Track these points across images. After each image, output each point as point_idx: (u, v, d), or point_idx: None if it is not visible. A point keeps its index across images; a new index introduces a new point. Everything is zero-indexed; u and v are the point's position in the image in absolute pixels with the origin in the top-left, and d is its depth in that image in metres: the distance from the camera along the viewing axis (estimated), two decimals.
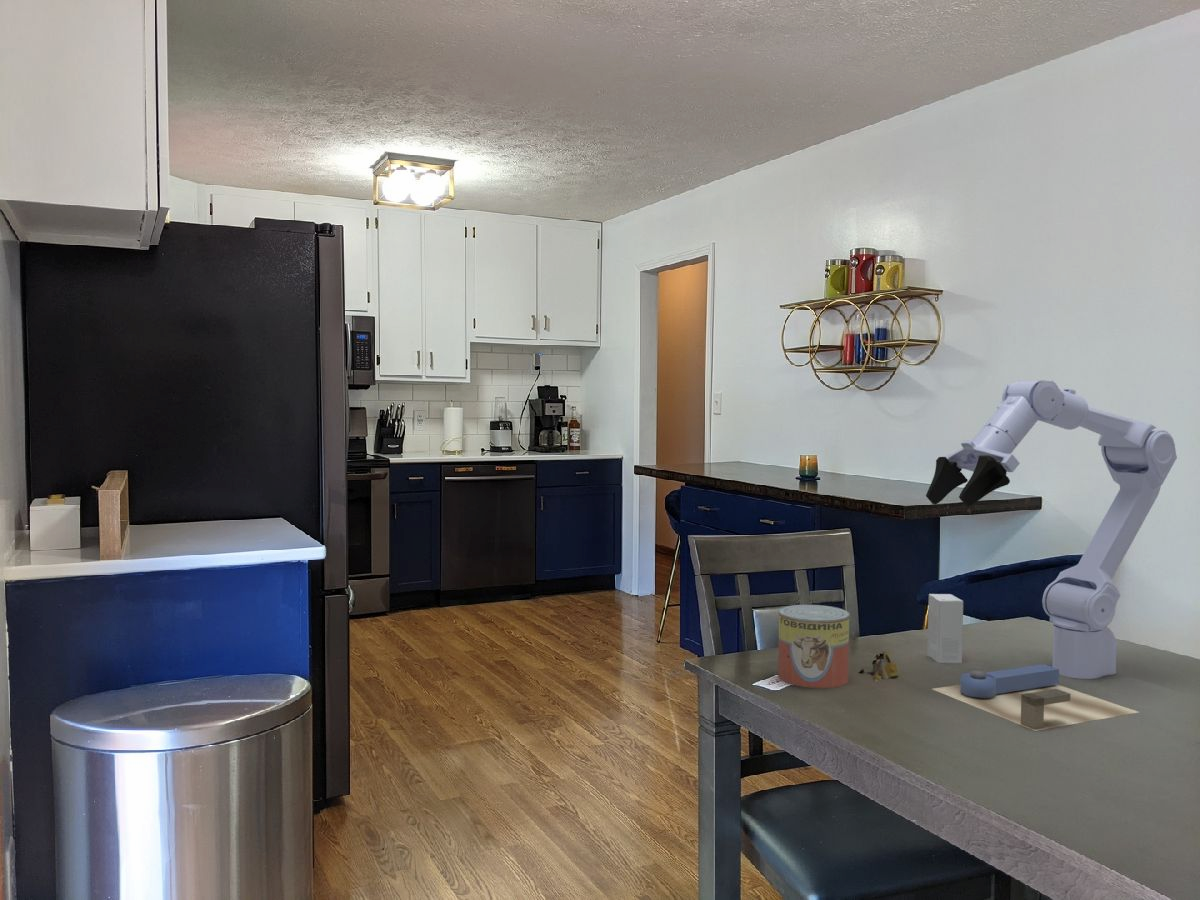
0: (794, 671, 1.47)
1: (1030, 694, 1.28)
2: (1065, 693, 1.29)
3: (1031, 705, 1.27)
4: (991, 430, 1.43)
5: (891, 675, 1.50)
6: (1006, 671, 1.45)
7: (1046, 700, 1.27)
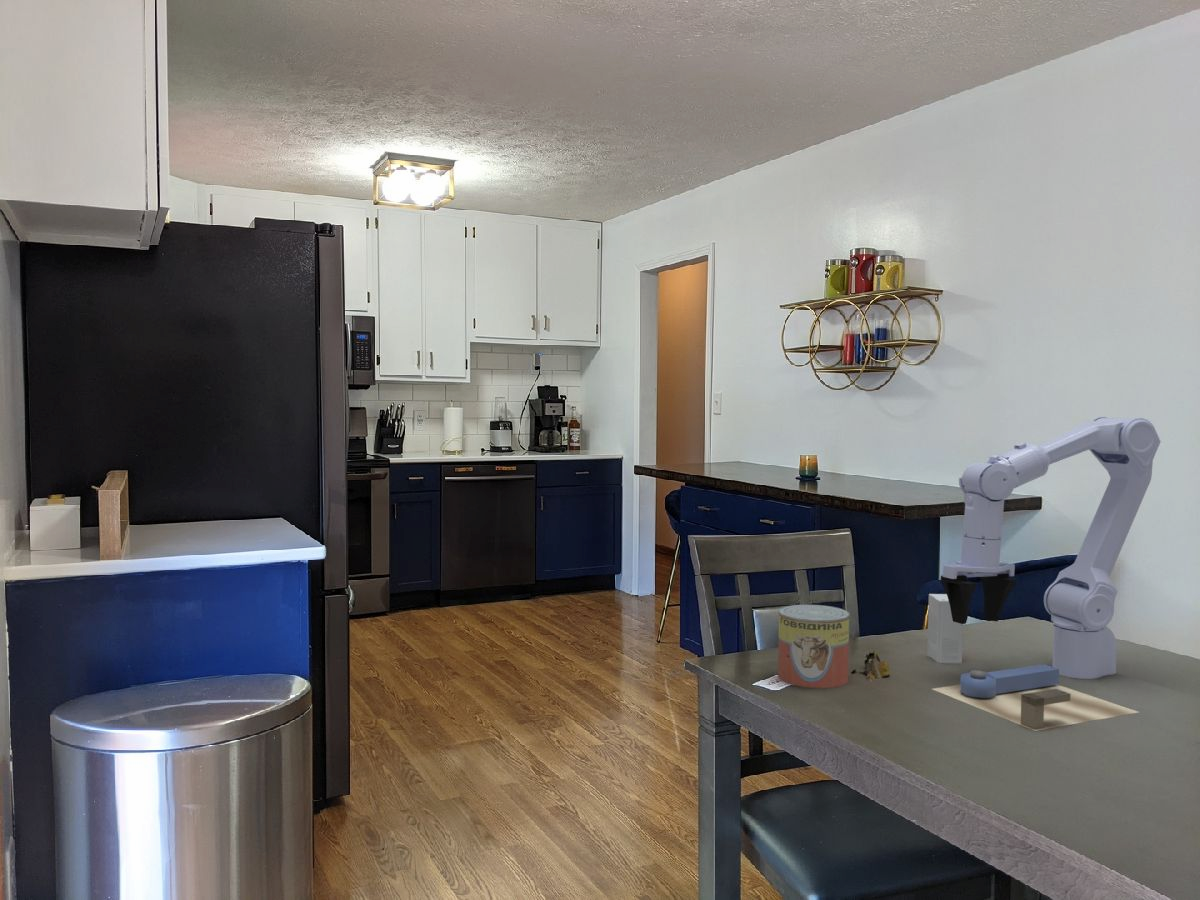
0: (794, 671, 1.47)
1: (1030, 694, 1.28)
2: (1065, 693, 1.29)
3: (1031, 705, 1.27)
4: None
5: (884, 674, 1.51)
6: (1006, 671, 1.45)
7: (1046, 700, 1.27)
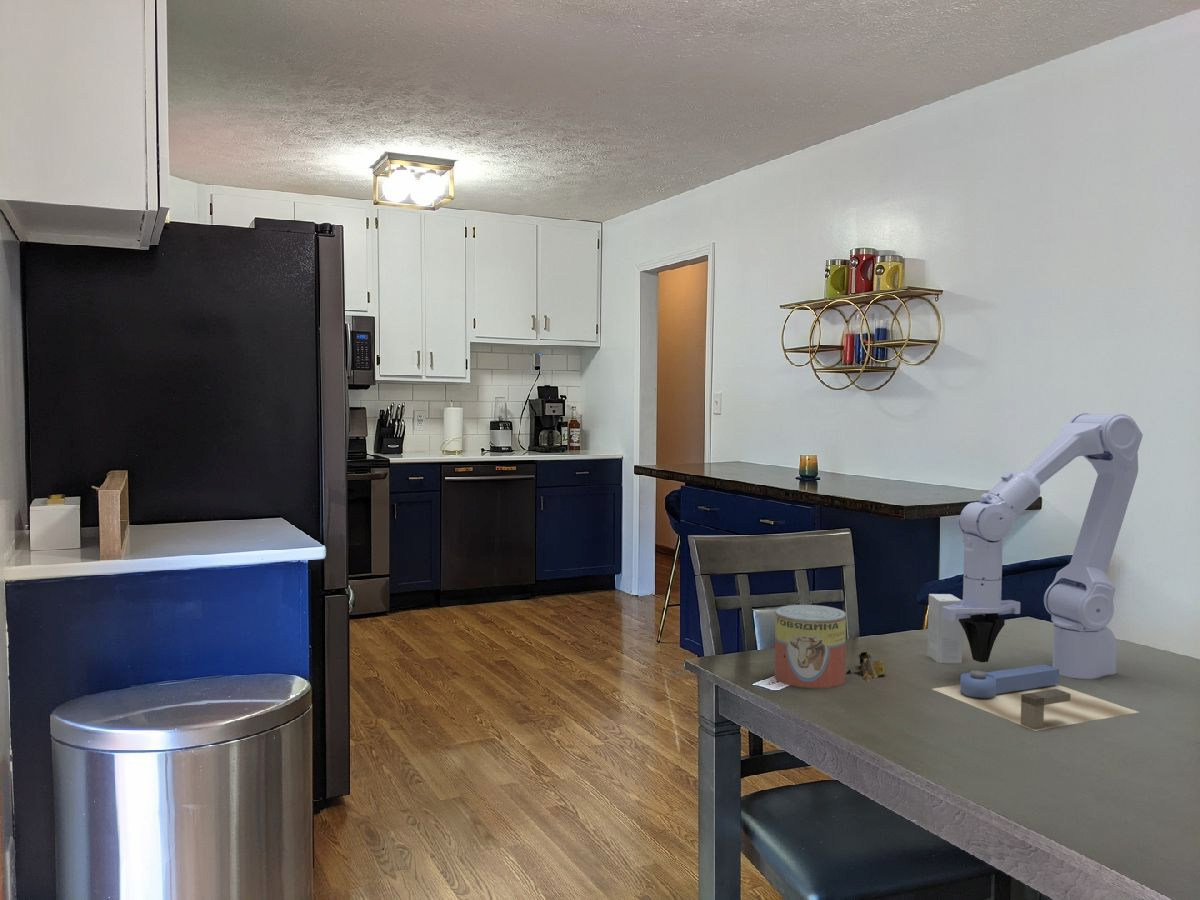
0: (790, 671, 1.47)
1: (1030, 694, 1.28)
2: (1065, 693, 1.29)
3: (1031, 705, 1.27)
4: None
5: (879, 673, 1.51)
6: (1006, 671, 1.45)
7: (1046, 700, 1.27)
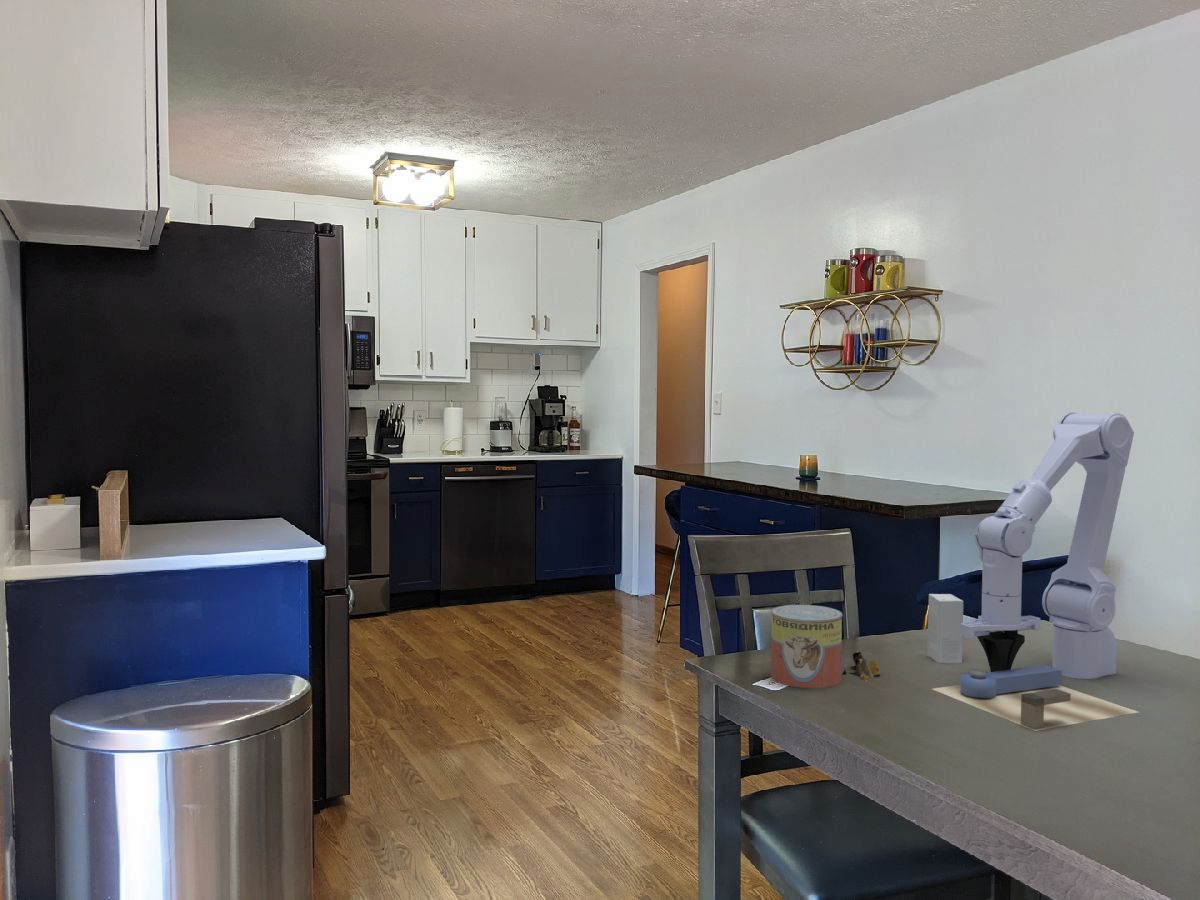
0: (786, 671, 1.47)
1: (1030, 694, 1.28)
2: (1065, 693, 1.29)
3: (1031, 705, 1.27)
4: None
5: (875, 674, 1.51)
6: (1007, 671, 1.44)
7: (1046, 700, 1.27)
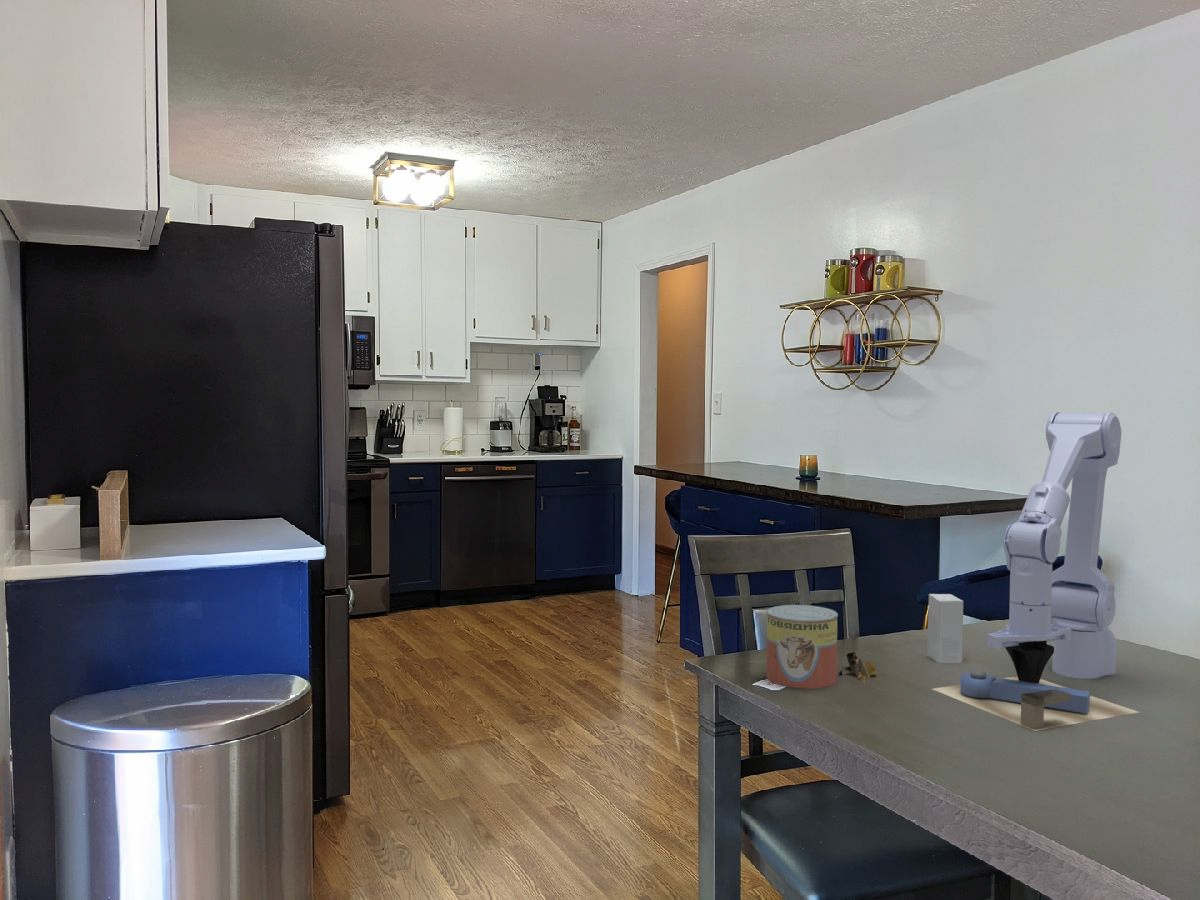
0: (780, 671, 1.47)
1: (1030, 694, 1.28)
2: (1065, 693, 1.29)
3: (1031, 705, 1.27)
4: None
5: (872, 674, 1.51)
6: (1024, 683, 1.39)
7: (1046, 700, 1.27)
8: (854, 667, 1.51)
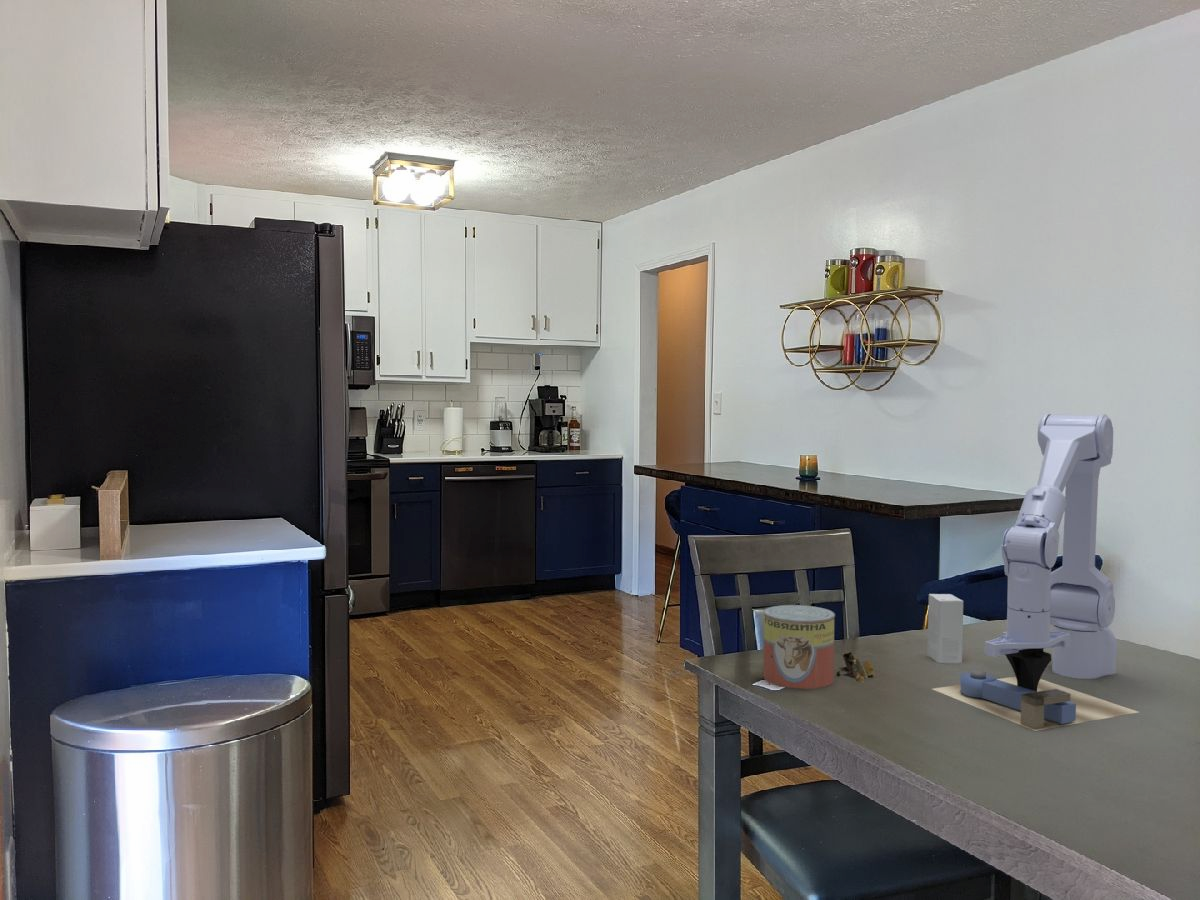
0: (777, 671, 1.46)
1: (1030, 694, 1.28)
2: (1065, 693, 1.29)
3: (1031, 705, 1.27)
4: None
5: (869, 674, 1.51)
6: (1017, 687, 1.36)
7: (1046, 700, 1.27)
8: (852, 667, 1.51)
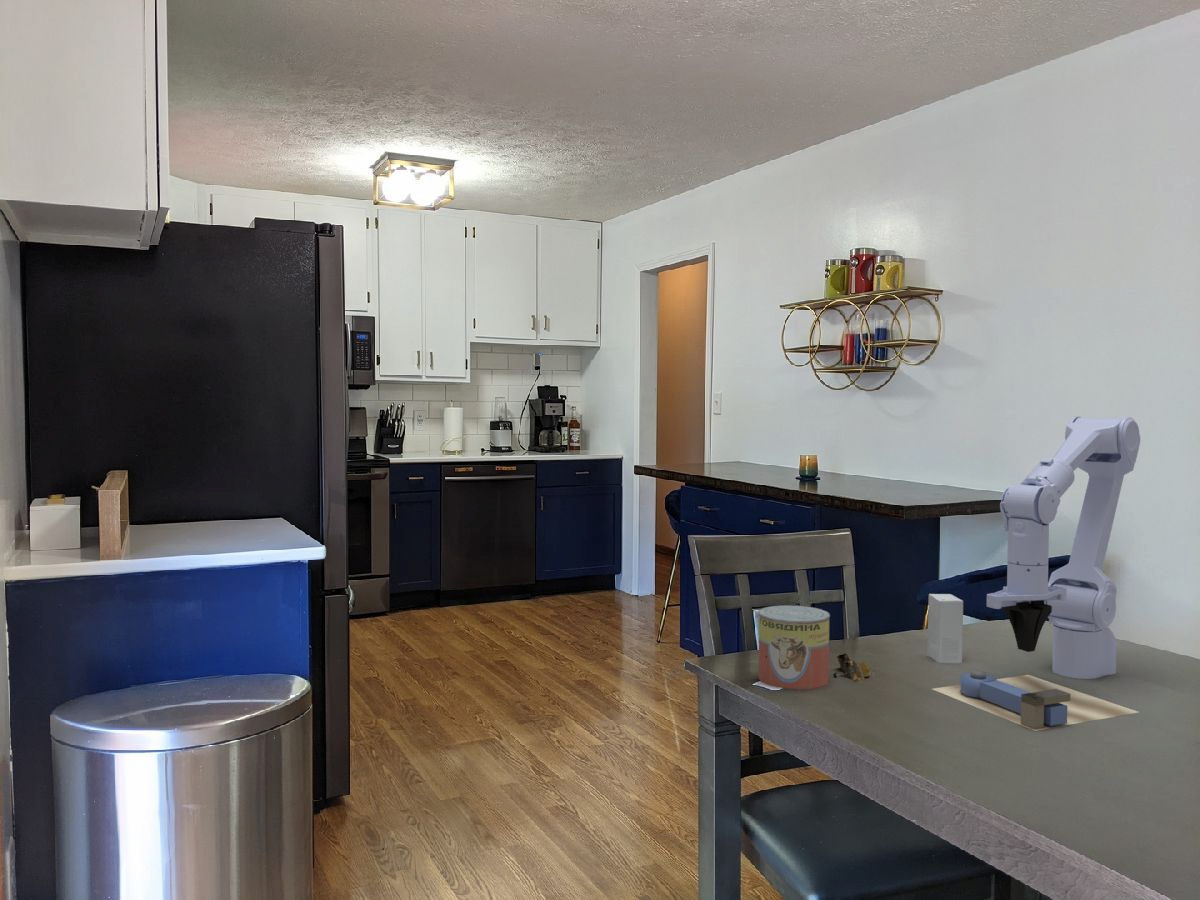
0: (772, 672, 1.46)
1: (1030, 694, 1.28)
2: (1065, 693, 1.29)
3: (1031, 705, 1.27)
4: None
5: (866, 675, 1.51)
6: (1014, 688, 1.36)
7: (1046, 700, 1.27)
8: (849, 669, 1.50)
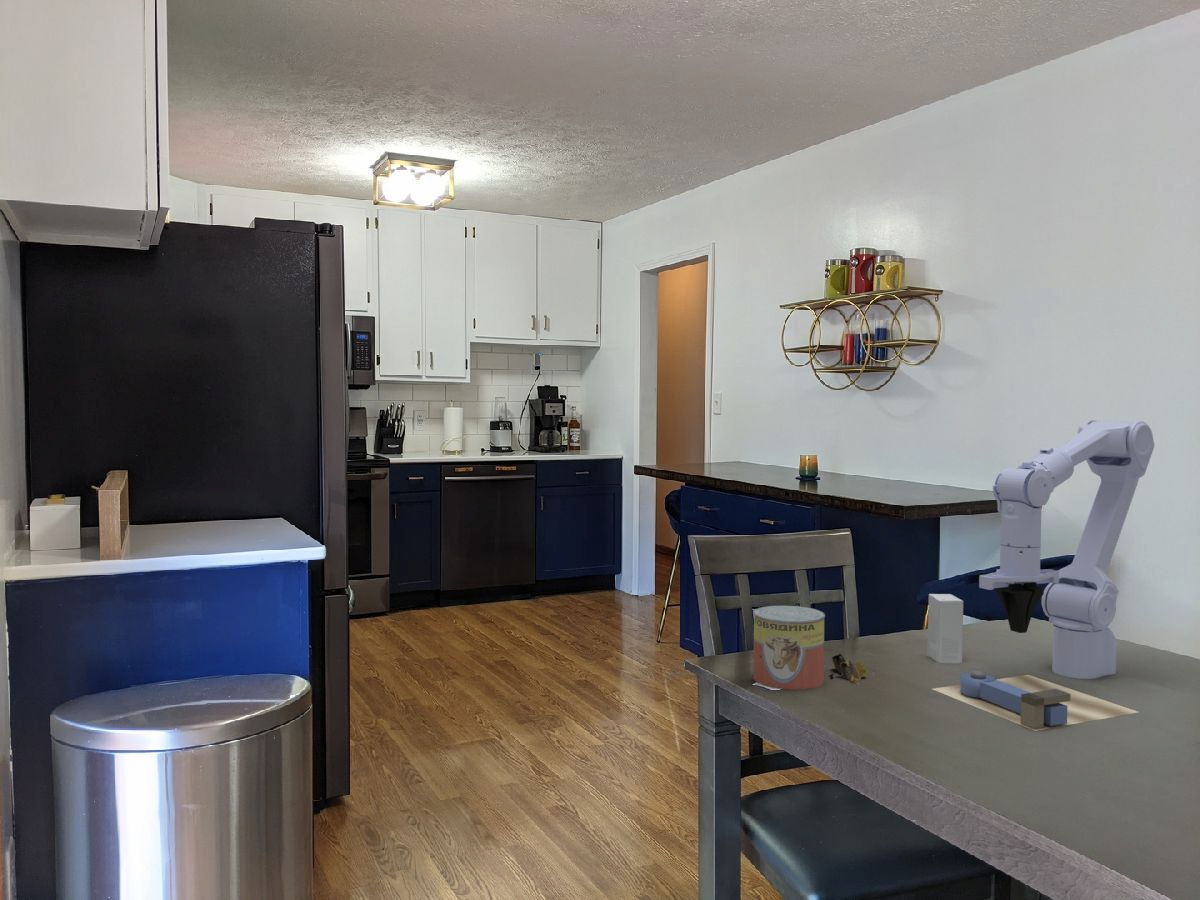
0: (766, 672, 1.46)
1: (1030, 694, 1.28)
2: (1065, 693, 1.29)
3: (1031, 705, 1.27)
4: None
5: (862, 675, 1.50)
6: (1014, 688, 1.36)
7: (1046, 700, 1.27)
8: (845, 670, 1.50)
